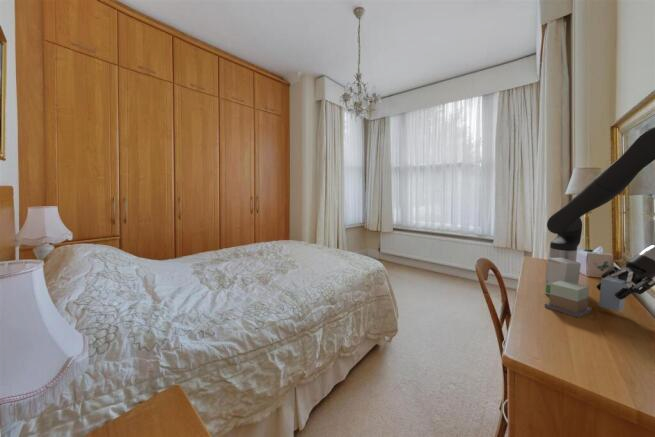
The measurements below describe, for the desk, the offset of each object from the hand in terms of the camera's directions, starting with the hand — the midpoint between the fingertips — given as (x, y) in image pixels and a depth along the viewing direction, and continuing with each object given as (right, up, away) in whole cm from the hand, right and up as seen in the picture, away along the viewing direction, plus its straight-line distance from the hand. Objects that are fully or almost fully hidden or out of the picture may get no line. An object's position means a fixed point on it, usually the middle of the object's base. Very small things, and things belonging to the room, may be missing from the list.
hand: (607, 293), depth 95 cm
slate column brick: (+2, -5, 0) cm, 5 cm away
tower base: (-10, -7, +4) cm, 13 cm away
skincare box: (-3, -6, +16) cm, 17 cm away
